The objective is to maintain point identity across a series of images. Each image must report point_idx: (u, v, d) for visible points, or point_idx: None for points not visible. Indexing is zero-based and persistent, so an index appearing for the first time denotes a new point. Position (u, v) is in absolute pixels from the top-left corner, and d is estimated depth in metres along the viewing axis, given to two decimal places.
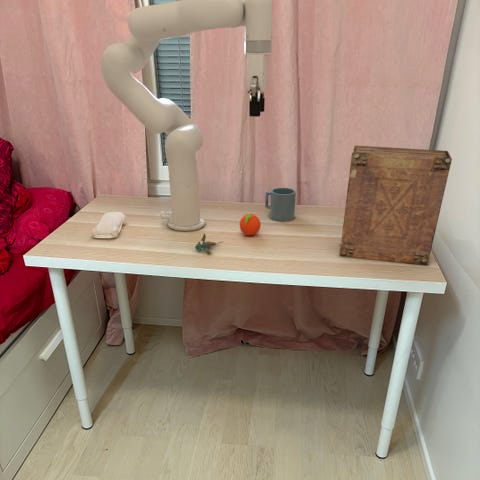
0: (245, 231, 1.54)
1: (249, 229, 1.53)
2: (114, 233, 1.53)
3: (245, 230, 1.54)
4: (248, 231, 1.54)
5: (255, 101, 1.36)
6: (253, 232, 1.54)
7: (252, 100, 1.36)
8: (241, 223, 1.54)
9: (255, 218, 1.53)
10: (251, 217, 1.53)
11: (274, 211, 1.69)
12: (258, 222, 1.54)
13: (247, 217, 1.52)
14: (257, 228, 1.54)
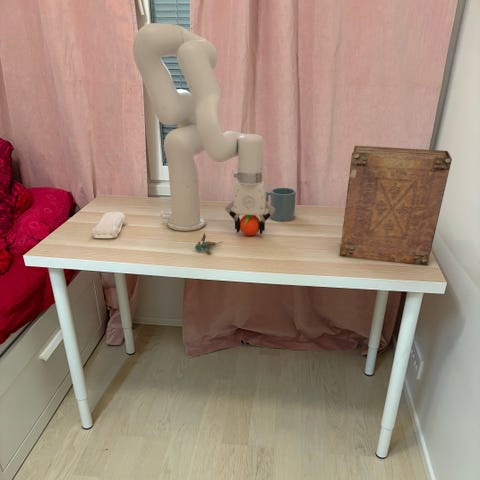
0: (245, 231, 1.54)
1: (249, 229, 1.53)
2: (114, 233, 1.53)
3: (245, 230, 1.54)
4: (248, 231, 1.54)
5: (265, 220, 1.54)
6: (253, 232, 1.54)
7: (265, 220, 1.53)
8: (241, 223, 1.54)
9: (255, 218, 1.53)
10: (251, 217, 1.53)
11: None
12: (258, 222, 1.54)
13: (247, 217, 1.52)
14: (257, 228, 1.54)
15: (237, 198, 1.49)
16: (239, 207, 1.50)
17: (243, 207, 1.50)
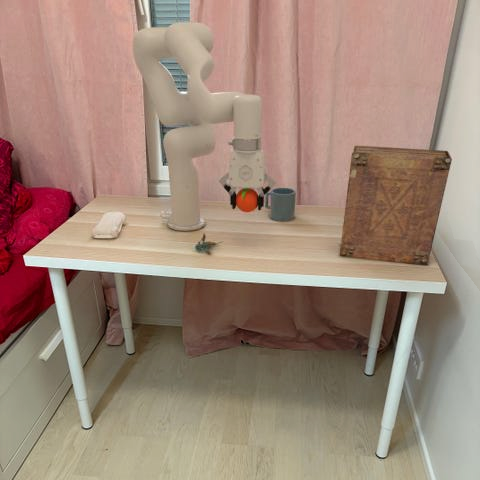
0: (242, 207, 1.37)
1: (246, 204, 1.36)
2: (114, 233, 1.53)
3: (242, 205, 1.37)
4: (245, 207, 1.36)
5: None
6: (251, 208, 1.37)
7: (264, 194, 1.36)
8: (237, 198, 1.37)
9: (253, 192, 1.36)
10: (248, 191, 1.36)
11: (274, 211, 1.69)
12: (256, 197, 1.37)
13: (244, 191, 1.35)
14: (255, 203, 1.37)
15: (233, 169, 1.32)
16: (235, 179, 1.33)
17: (239, 179, 1.33)
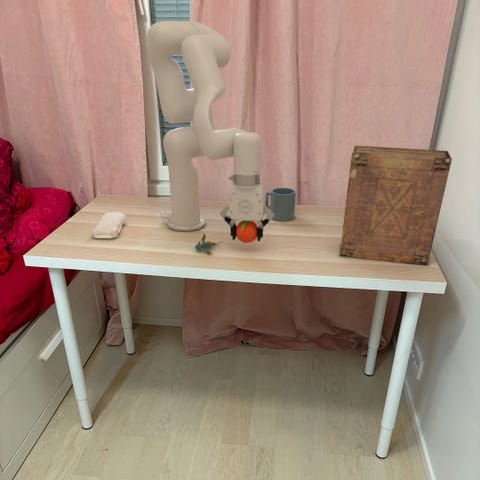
0: (242, 238, 1.41)
1: (246, 236, 1.40)
2: (114, 233, 1.53)
3: (241, 237, 1.41)
4: (245, 238, 1.41)
5: None
6: (250, 239, 1.42)
7: (263, 226, 1.40)
8: (237, 229, 1.41)
9: (252, 224, 1.41)
10: (248, 223, 1.40)
11: (274, 211, 1.69)
12: (256, 228, 1.41)
13: (244, 223, 1.40)
14: (255, 235, 1.41)
15: (233, 202, 1.36)
16: (235, 212, 1.37)
17: (239, 212, 1.37)
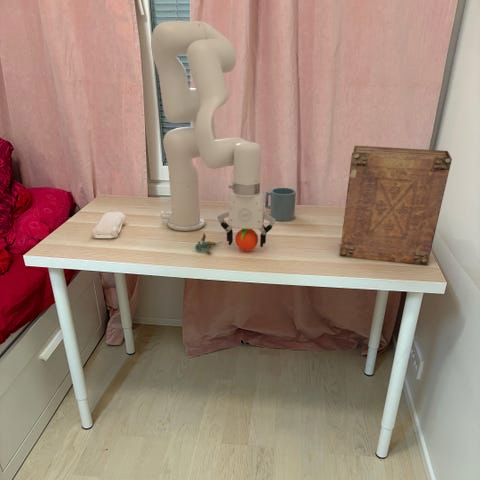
0: (241, 246, 1.43)
1: (246, 244, 1.42)
2: (114, 233, 1.53)
3: (241, 245, 1.42)
4: (245, 246, 1.42)
5: None
6: (250, 248, 1.43)
7: (266, 232, 1.41)
8: (237, 238, 1.43)
9: (252, 233, 1.42)
10: (248, 231, 1.42)
11: (274, 211, 1.69)
12: (255, 237, 1.43)
13: (243, 232, 1.41)
14: (254, 243, 1.43)
15: (232, 211, 1.37)
16: (235, 220, 1.39)
17: (239, 220, 1.39)
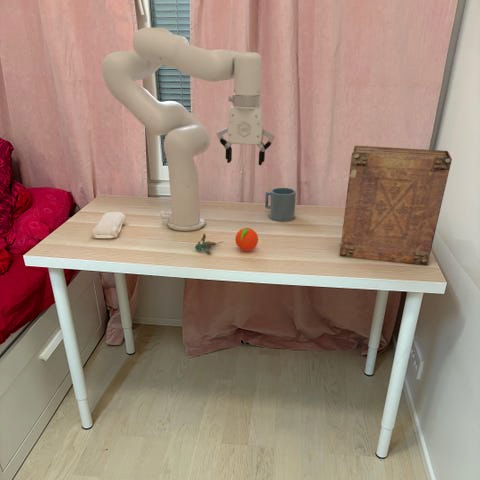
0: (241, 246, 1.43)
1: (246, 244, 1.42)
2: (114, 233, 1.53)
3: (241, 245, 1.42)
4: (245, 246, 1.42)
5: None
6: (250, 248, 1.43)
7: None
8: (237, 238, 1.43)
9: (252, 233, 1.42)
10: (248, 232, 1.42)
11: (274, 211, 1.69)
12: (255, 237, 1.43)
13: (243, 232, 1.41)
14: (254, 243, 1.43)
15: (232, 125, 1.37)
16: (234, 135, 1.38)
17: (238, 135, 1.38)
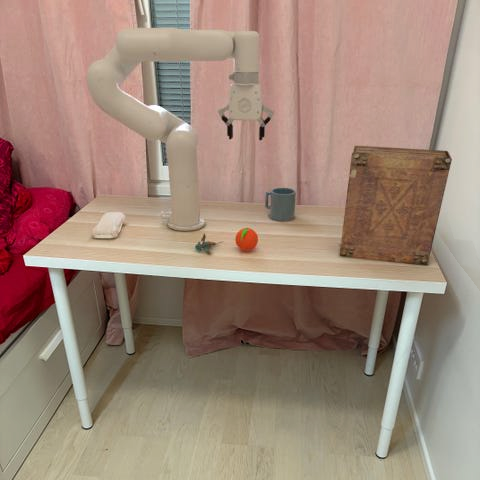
0: (241, 246, 1.43)
1: (246, 244, 1.42)
2: (114, 233, 1.53)
3: (241, 245, 1.42)
4: (245, 246, 1.42)
5: (264, 125, 1.49)
6: (250, 248, 1.43)
7: None
8: (237, 238, 1.43)
9: (252, 233, 1.42)
10: (248, 232, 1.42)
11: (274, 211, 1.69)
12: (255, 237, 1.43)
13: (243, 232, 1.41)
14: (254, 243, 1.43)
15: (233, 101, 1.44)
16: (235, 112, 1.45)
17: (239, 111, 1.45)
